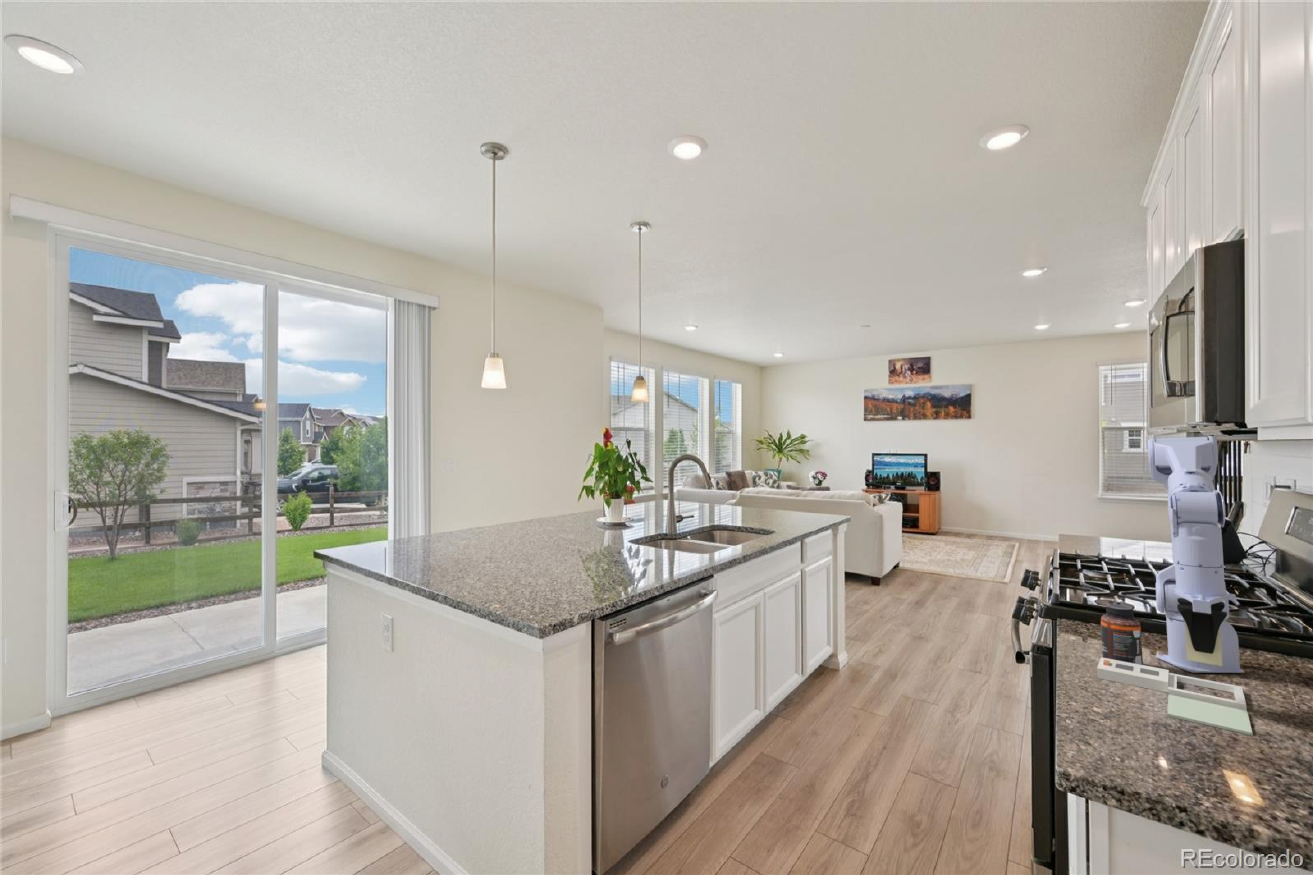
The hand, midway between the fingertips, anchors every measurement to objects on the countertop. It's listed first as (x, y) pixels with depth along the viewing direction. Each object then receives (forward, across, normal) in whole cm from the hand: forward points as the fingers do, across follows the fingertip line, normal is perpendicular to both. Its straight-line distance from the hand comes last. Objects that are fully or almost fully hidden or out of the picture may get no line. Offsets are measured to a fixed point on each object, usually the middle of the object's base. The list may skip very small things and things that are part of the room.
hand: (1203, 648), depth 89 cm
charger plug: (+2, 0, 0) cm, 2 cm away
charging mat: (+9, -5, 0) cm, 10 cm away
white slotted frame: (+9, +5, +5) cm, 11 cm away
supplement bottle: (+9, +12, +11) cm, 19 cm away
